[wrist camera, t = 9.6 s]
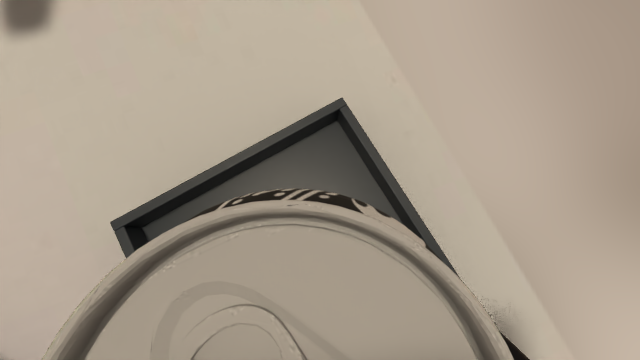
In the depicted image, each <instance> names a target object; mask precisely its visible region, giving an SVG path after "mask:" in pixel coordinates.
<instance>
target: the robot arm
mask: <svg viewBox="0 0 640 360" xmlns="http://www.w3.org/2000/svg"><path fill="white" fill-rule="evenodd" d="M498 331H499V330H498ZM499 332H500V331H499ZM500 334H501V336H502V337H503V339H504V341H505V342H506V344H507V346H508V348H509V350H510V352H511V354H512V357H513V359H514V360H530V359H528V358H527V357H526V356H525V355H524V354H523V353H522V352H521V351H520V350H519V349H518V348H517V347H516V346H515V345H514V344H512V343H511V342H510V341H509V340H508V339H507V338H506V337H505V336H504V335H503V334H502V333H501V332H500Z"/></svg>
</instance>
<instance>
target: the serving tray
mask: <svg viewBox="0 0 640 360" xmlns="http://www.w3.org/2000/svg"><path fill="white" fill-rule="evenodd" d="M276 189H311V190H320V191H325V192H331V193H336V194H341V195H344V196H347V197H350V198H353V199H356V200H359V201H362V202H364V203H366V204H368V205H370V206H372V207H375V208H377V209H378V210H380V211H382V212H384V213H386V214H387V215H389V216H391V217H392V218H394V219H396V220H397V221H398V222H400V223H401V224H403V225H404V226H406V227H407V228H408V229H409V230H411V231H412V232H413V233H414V234H416V235H417V236H418V237H419V238H420V239H422V240H423V241H424V242H425V243H426V244H427V245H428V246H429V247H430V248H431V249H432V250H433V251H434V252H435V254H436V255H437V256H438V257H439V258H440V259H441V260H442V261H443V262H444V264H446V265H447V266H448V267H449V268H450V269H451V270H452V271H453V272H454V273H455V274H456V275H457V276H458V274H457V273H456V271H455V270H454V268H453V267H452V265H451V264H450V262H449V261H448V259H447V258H446V256H445V254H444V253H443V251H442V250H441V248H440V247H439V245H438V244H437V242H436V241H435V239H434V238H433V236H432V234H431V233H430V231H429V230H428V228H427V227H426V225H425V224H424V222H423V221H422V219H421V218H420V216H419V215H418V213H417V211H416V210H415V208H414V207H413V205H412V204H411V202H410V201H409V199H408V198H407V196H406V195H405V193H404V191H403V190H402V188H401V187H400V185H399V184H398V182H397V181H396V179H395V178H394V176H393V175H392V173H391V172H390V170H389V168H388V167H387V165H386V164H385V162H384V161H383V159H382V158H381V156H380V155H379V153H378V152H377V150H376V148H375V147H374V145H373V144H372V142H371V141H370V139H369V138H368V136H367V135H366V133H365V132H364V130H363V128H362V127H361V125H360V124H359V122H358V121H357V119H356V118H355V116H354V115H353V113H352V112H351V110H350V109H349V107H348V106H347V104H346V102H345V101H344V99H343V98H340V99H338V100H336V101H335V102H333V103H331V104H329V105H327V106H325V107H323V108H322V109H320V110H318V111H316V112H314V113H312V114H310V115H309V116H307V117H305V118H303V119H301V120H299V121H297V122H295V123H294V124H292V125H290V126H288V127H286V128H284V129H282V130H281V131H279V132H277V133H275V134H273V135H271V136H269V137H268V138H266V139H264V140H262V141H260V142H258V143H256V144H255V145H253V146H251V147H249V148H247V149H245V150H243V151H242V152H240V153H238V154H236V155H234V156H232V157H230V158H229V159H227V160H225V161H223V162H221V163H219V164H217V165H216V166H214V167H212V168H210V169H208V170H206V171H204V172H203V173H201V174H199V175H197V176H195V177H193V178H191V179H190V180H188V181H186V182H184V183H182V184H180V185H178V186H177V187H175V188H173V189H171V190H169V191H167V192H165V193H164V194H162V195H160V196H158V197H156V198H154V199H152V200H151V201H149V202H147V203H145V204H143V205H141V206H139V207H138V208H136V209H134V210H132V211H130V212H128V213H126V214H125V215H123V216H121V217H119V218H117V219H115V220H113V221H112V222H110V223H111V226H112V228H113V230H114V231H115V234H116V237H117V239H118V241H119V243H120V246H121V248H122V250H123V252H124V255H125V257H126V258H128V257H129V256H130V255H131V254H132V253H134V252H135V251H136V250H137V249H139V248H140V247H142V246H144V245H145V244H147V243H148V242H150V241H152V240H153V239H155V238H156V237H158V236H159V235H161V234H163V233H165V232H166V231H168V230H170V229H172V228H174V227H176V226H178V225H180V224H182V223H184V222H186V221H187V220H189V219H190V218H192V217H194V216H195V215H197V214H199V213H200V212H202V211H204V210H206V209H208V208H211V207H213V206H215V205H218V204H220V203H222V202H225V201H228V200H230V199H233V198H236V197H240V196H243V195H247V194H251V193H256V192H260V191H267V190H276ZM458 277H459V276H458ZM459 278H460V277H459Z"/></svg>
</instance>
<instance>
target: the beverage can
mask: <svg viewBox="0 0 640 360" xmlns="http://www.w3.org/2000/svg"><path fill="white" fill-rule="evenodd" d="M42 360H514V359H513V357H512V354H511V352H510V350H509V348H508V346H507V344H506V342H505V341H504V339H503V337H502V336H501V334H500V332H499V331H498V329H497V327H496V326H495V324H494V322H493V321H492V319H491V317H490V316H489V314H488V313H487V312H486V310H485V309H484V308H483V306H482V305H481V304H480V302H479V301H478V299H477V298H476V297H475V295H474V294H473V293H472V292H471V291H470V290H469V288H468V287H467V286H466V285H465V284H464V283H463V282H462V281H461V279H460V278H459V277H458V276H457V275H456V274H455V273H454V272H453V271H452V270H451V269H450V268H449V267H448V266H447V265H446V264H444V262H443V261H442V260H441V259H440V258H439V257H438V256H437V255H436V254H435V252H434V251H433V250H432V249H431V248H430V247H429V246H428V245H427V244H426V243H425V242H424V241H423V240H422V239H420V238H419V237H418V236H417V235H416V234H414V233H413V232H412V231H411V230H409V229H408V228H407V227H406V226H404V225H403V224H401V223H400V222H398V221H397V220H396V219H394V218H392V217H391V216H389V215H387V214H386V213H384V212H382V211H380V210H378V209H377V208H375V207H372V206H370V205H368V204H366V203H364V202H362V201H359V200H356V199H353V198H350V197H347V196H344V195H341V194H336V193H331V192H325V191H320V190H311V189H276V190H267V191H260V192H256V193H251V194H247V195H243V196H240V197H236V198H233V199H230V200H228V201H225V202H222V203H220V204H218V205H215V206H213V207H211V208H208V209H206V210H204V211H202V212H200V213H199V214H197V215H195V216H194V217H192V218H190V219H189V220H187V221H186V222H184V223H182V224H180V225H178V226H176V227H174V228H172V229H170V230H168V231H166V232H165V233H163V234H161V235H159V236H158V237H156V238H155V239H153V240H152V241H150V242H148V243H147V244H145V245H144V246H142V247H140V248H139V249H137V250H136V251H135V252H134V253H132V254H131V255H130V256H129V257H128V258H126V259H125V260H124V261H123V262H122V263H120V264H119V265H118V266H117V267H116V268H115V269H113V270H112V271H111V272H110V273H109V274H107V275H106V276H105V278H104V279H103V280H102V281H101V282H100V283H99V284H98V285H97V286H96V287H95V288H94V289H93V290H92V291H91V292H90V293H89V294H88V295H87V296H86V298H85V299H84V300H83V301H82V302H81V303H80V304H79V306H78V307H77V308H76V310H75V311H74V312H73V314H72V315H71V316H70V317H69V319H68V320H67V321H66V323H65V324H64V325H63V327H62V328H61V329H60V331H59V332H58V334H57V336H56V337H55V339H54V340H53V342H52V344H51V345H50V347H49V348H48V350H47V352H46V353H45V355H44V357H43V358H42Z"/></svg>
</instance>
